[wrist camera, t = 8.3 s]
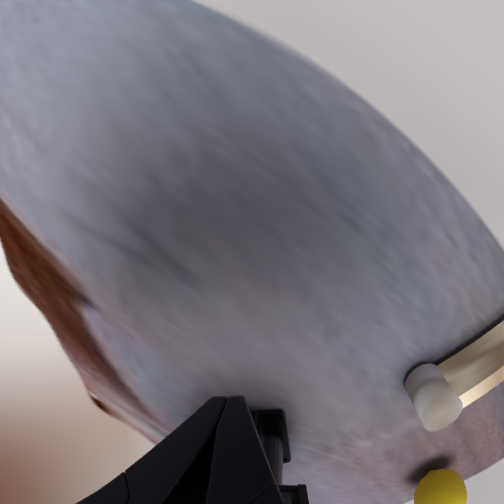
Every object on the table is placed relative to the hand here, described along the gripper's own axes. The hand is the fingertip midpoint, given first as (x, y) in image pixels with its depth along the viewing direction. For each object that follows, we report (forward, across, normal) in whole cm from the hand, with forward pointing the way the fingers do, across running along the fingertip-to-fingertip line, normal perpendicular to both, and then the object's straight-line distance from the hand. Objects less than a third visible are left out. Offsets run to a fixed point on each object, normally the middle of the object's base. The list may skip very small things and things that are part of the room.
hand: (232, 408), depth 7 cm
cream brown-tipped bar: (+12, -15, +9) cm, 21 cm away
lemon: (+12, -15, +25) cm, 32 cm away
